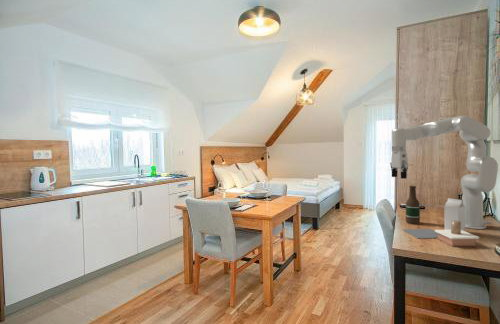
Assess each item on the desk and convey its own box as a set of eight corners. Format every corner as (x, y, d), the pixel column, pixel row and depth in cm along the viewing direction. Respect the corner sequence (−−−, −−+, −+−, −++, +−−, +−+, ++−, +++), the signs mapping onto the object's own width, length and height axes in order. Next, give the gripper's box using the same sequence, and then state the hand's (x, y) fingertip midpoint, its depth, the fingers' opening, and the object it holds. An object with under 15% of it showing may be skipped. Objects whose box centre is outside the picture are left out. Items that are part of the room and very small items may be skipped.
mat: (430, 229, 164) (430, 228, 164) (448, 238, 148) (448, 237, 148) (402, 230, 164) (402, 229, 164) (417, 238, 148) (417, 237, 148)
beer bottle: (419, 225, 173) (419, 187, 172) (405, 223, 177) (405, 186, 176) (419, 222, 180) (419, 185, 179) (406, 220, 184) (405, 184, 183)
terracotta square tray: (459, 239, 146) (459, 231, 146) (475, 246, 135) (475, 238, 135) (437, 239, 146) (437, 231, 146) (452, 246, 135) (452, 238, 135)
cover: (459, 230, 147) (459, 218, 146) (479, 238, 134) (479, 224, 133) (434, 231, 147) (434, 218, 147) (451, 239, 134) (451, 225, 134)
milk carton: (458, 235, 152) (458, 200, 152) (444, 231, 159) (444, 198, 158) (465, 232, 156) (465, 199, 155) (451, 229, 162) (451, 197, 161)
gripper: (413, 148, 157) (414, 179, 158) (396, 149, 174) (397, 176, 175) (400, 149, 157) (401, 179, 158) (385, 149, 174) (385, 176, 175)
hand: (398, 177), depth 166 cm, fingers open, 9 cm apart
